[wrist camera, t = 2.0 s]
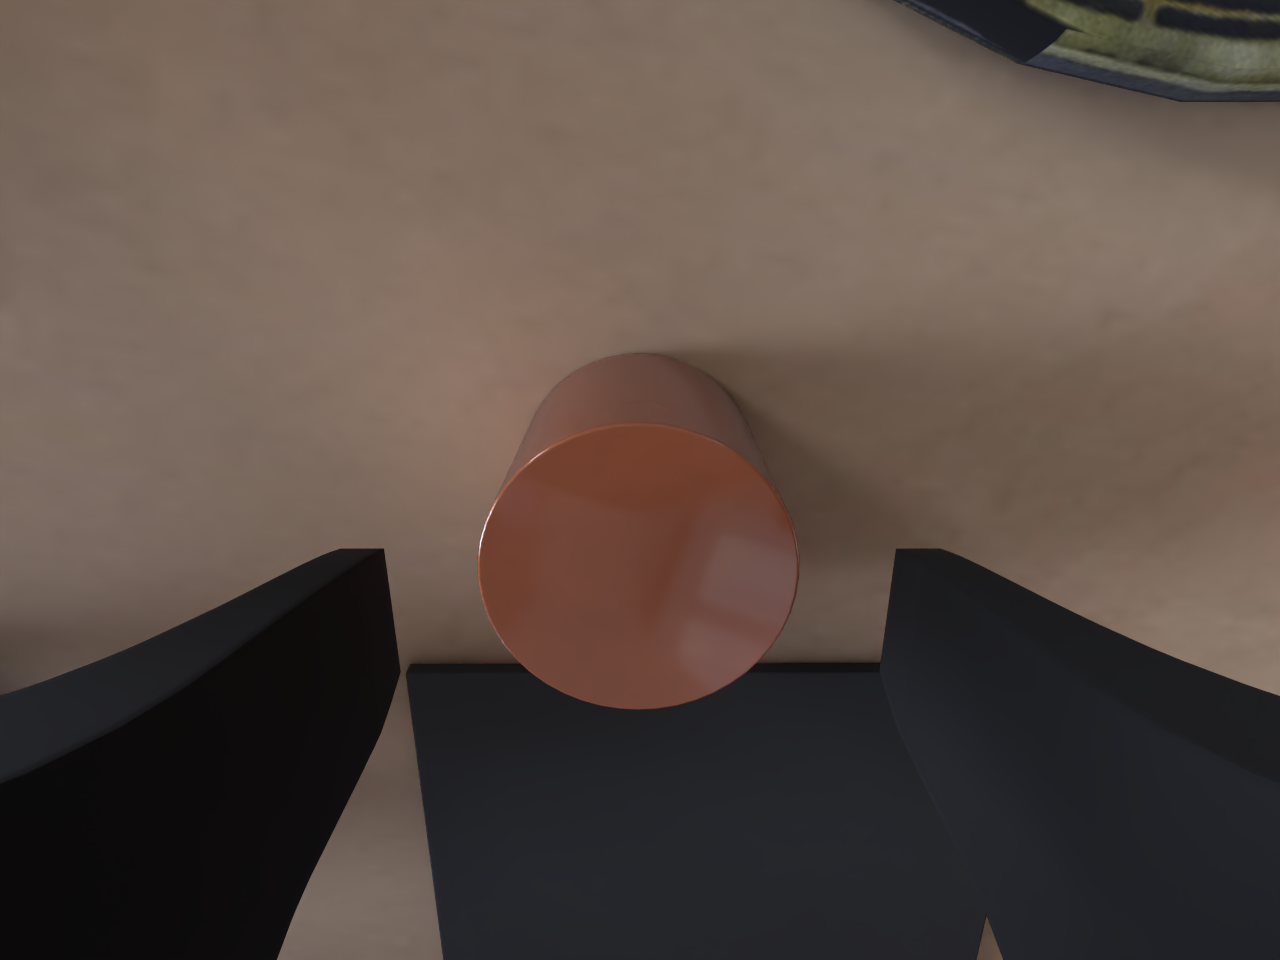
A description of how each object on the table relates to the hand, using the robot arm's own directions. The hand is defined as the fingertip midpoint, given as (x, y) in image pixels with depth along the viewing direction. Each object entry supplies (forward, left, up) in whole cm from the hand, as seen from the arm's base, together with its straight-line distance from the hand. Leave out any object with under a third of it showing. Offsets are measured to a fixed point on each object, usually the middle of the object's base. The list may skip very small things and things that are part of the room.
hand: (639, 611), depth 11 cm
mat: (+2, -15, -6) cm, 16 cm away
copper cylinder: (0, 0, -6) cm, 6 cm away
